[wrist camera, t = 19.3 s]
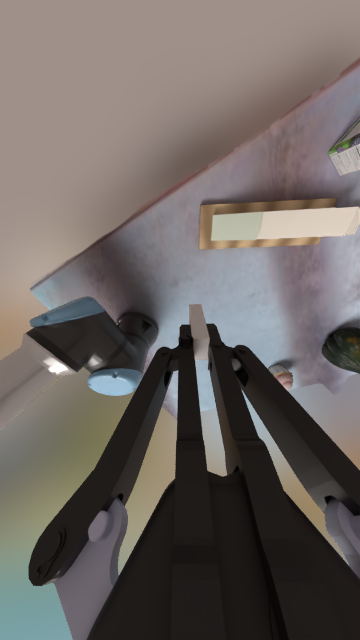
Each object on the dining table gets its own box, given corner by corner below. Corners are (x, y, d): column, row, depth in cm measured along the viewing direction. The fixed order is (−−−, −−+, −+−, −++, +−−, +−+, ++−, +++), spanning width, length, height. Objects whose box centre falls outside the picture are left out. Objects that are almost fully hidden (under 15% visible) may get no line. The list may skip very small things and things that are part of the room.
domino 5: (289, 237, 34) (343, 236, 31) (298, 210, 31) (359, 206, 28) (287, 236, 35) (340, 235, 32) (296, 211, 32) (354, 207, 29)
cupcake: (260, 373, 66) (271, 394, 58) (271, 360, 61) (285, 381, 53) (278, 376, 67) (291, 397, 59) (290, 363, 62) (307, 384, 54)
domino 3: (250, 238, 34) (300, 237, 31) (255, 213, 31) (311, 208, 28) (250, 238, 35) (298, 237, 32) (255, 213, 33) (308, 209, 29)
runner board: (198, 248, 38) (199, 249, 37) (200, 205, 33) (200, 205, 32) (314, 243, 37) (317, 244, 36) (333, 198, 32) (338, 197, 31)
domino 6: (310, 236, 34) (353, 234, 33) (321, 209, 31) (368, 207, 31) (305, 235, 35) (347, 234, 35) (315, 210, 32) (360, 208, 32)
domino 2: (231, 239, 34) (279, 238, 31) (235, 213, 32) (287, 210, 28) (232, 239, 36) (278, 238, 32) (235, 214, 33) (286, 210, 30)
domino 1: (211, 240, 34) (256, 240, 31) (212, 215, 32) (262, 211, 29) (212, 240, 36) (255, 239, 33) (213, 215, 33) (261, 212, 30)
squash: (394, 324, 44) (399, 362, 37) (376, 354, 52) (378, 390, 45) (328, 318, 54) (322, 347, 47) (322, 344, 62) (317, 372, 55)
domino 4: (270, 237, 34) (323, 236, 31) (277, 211, 31) (336, 207, 28) (269, 237, 35) (320, 236, 32) (276, 211, 32) (332, 208, 29)
